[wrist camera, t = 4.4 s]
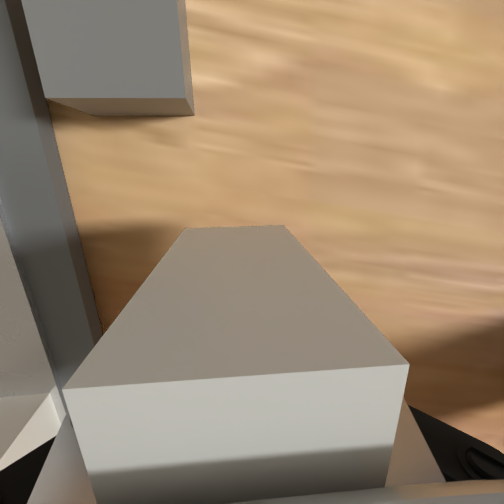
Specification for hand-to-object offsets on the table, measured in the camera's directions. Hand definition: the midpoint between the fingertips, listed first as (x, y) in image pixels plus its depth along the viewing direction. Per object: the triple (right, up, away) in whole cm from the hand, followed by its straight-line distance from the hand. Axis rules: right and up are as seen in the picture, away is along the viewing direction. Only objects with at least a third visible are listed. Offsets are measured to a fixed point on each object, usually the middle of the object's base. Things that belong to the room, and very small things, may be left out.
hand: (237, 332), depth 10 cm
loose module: (0, 0, +1) cm, 1 cm away
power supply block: (-5, +13, +2) cm, 14 cm away
